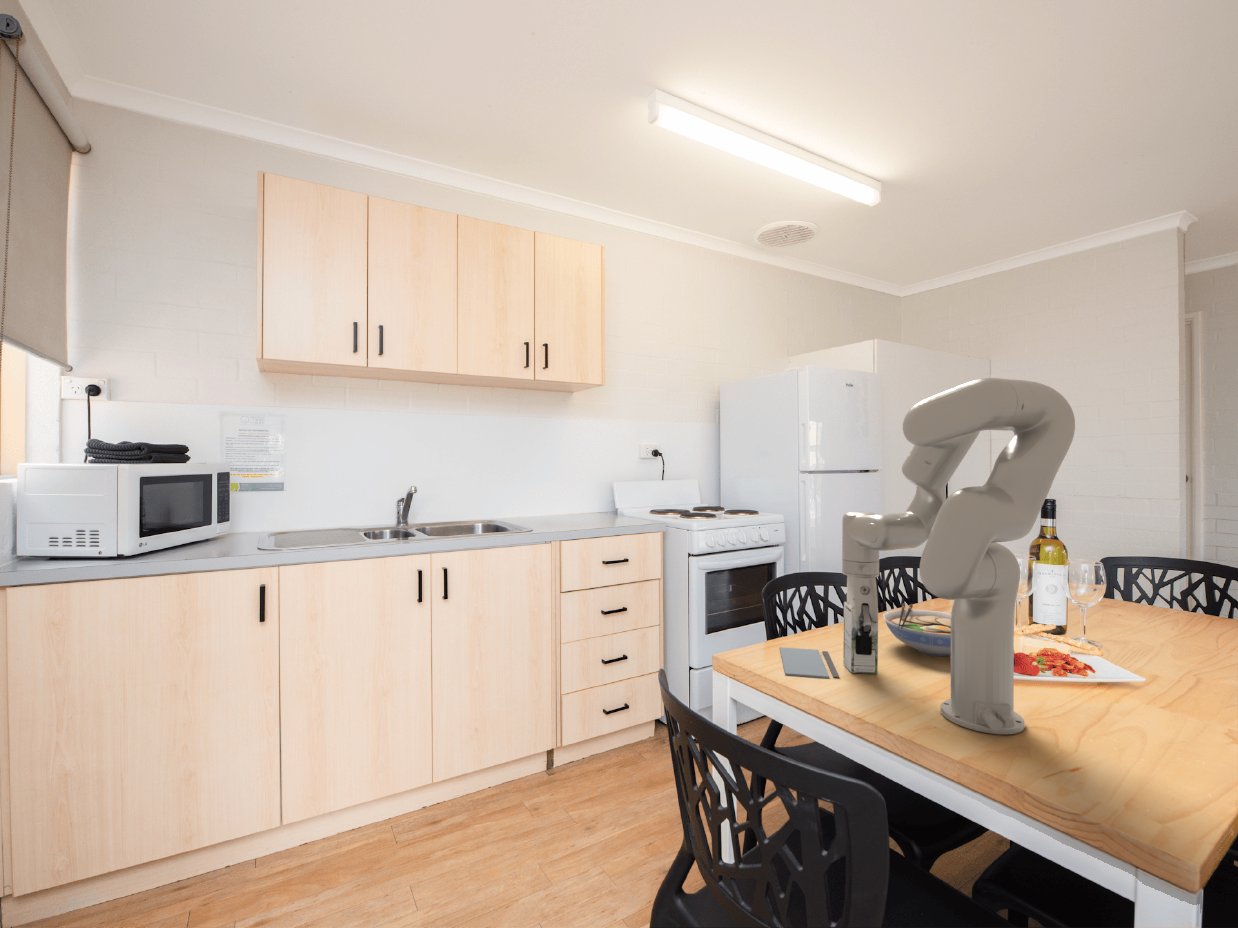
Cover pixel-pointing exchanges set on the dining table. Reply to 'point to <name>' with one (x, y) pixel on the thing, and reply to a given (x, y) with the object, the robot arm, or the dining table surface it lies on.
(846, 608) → the syrup box
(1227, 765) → the dining table surface
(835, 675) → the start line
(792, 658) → the mat
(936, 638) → the ramen bowl
